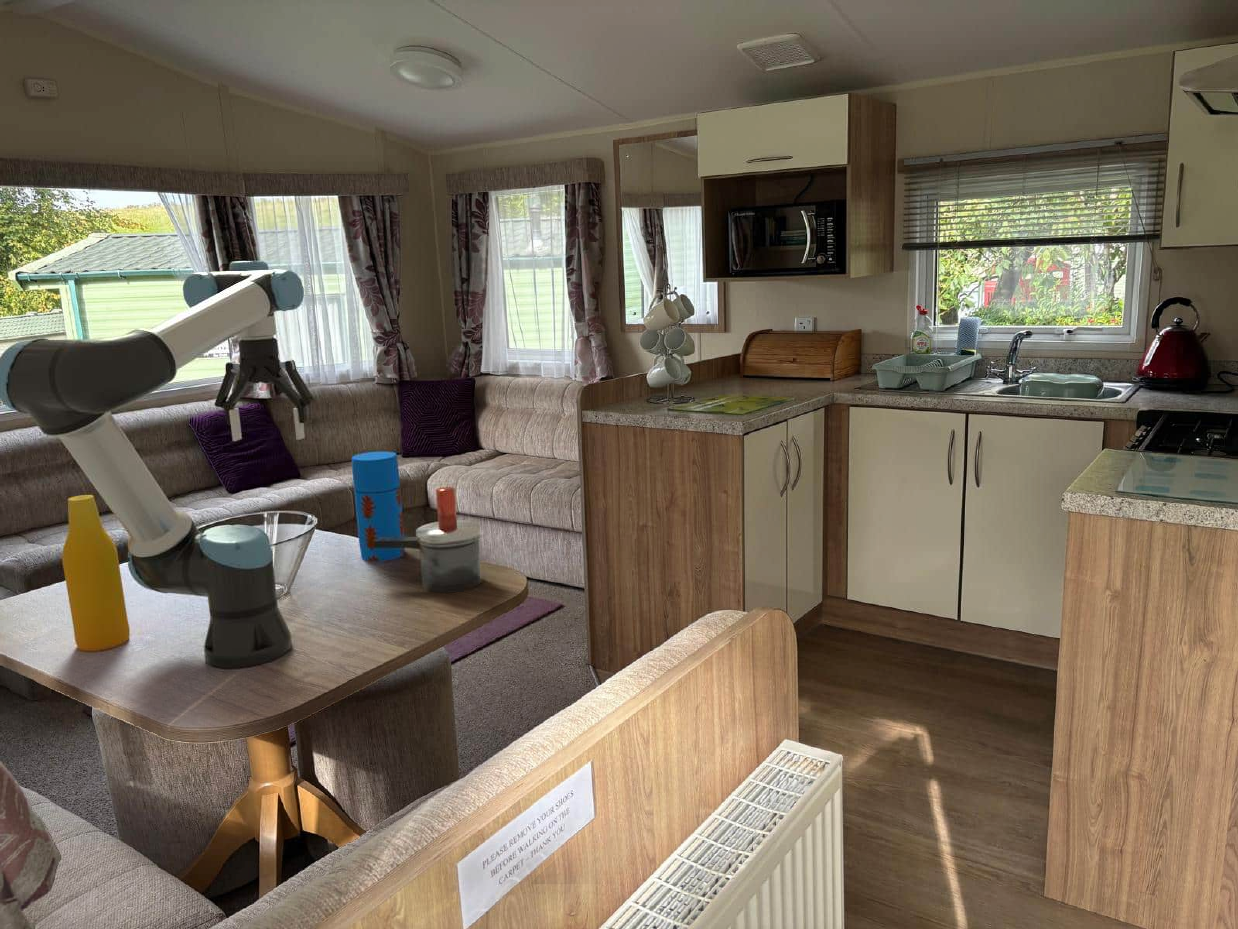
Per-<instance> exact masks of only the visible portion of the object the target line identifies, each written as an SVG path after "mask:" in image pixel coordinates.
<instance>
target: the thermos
mask: <svg viewBox="0 0 1238 929" xmlns="http://www.w3.org/2000/svg"><path fill="white" fill-rule="evenodd" d="M351 470H352V471H351V472H352V481H353V492H354V502H355V512H356V513H355V514H356V515H355V516H356V522H357V534H358V544H359V550H360V556H361V560H364V561H368V562H385V561H392V560H395V559H399V558H400V557H403V556H404V555H405V553H406V552H405V549H406V548H374V541H375V540H376V539H377V538H378V537H405V529H404V519H403V518H404V517H403V506H402V496H401V495H402V494H401V493H402V492H401V484H400V471H399V462H398V456H397V453H396V452H392V451H370V452H363V453H359V454H354V455H353V456H352V457H351Z"/></svg>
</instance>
